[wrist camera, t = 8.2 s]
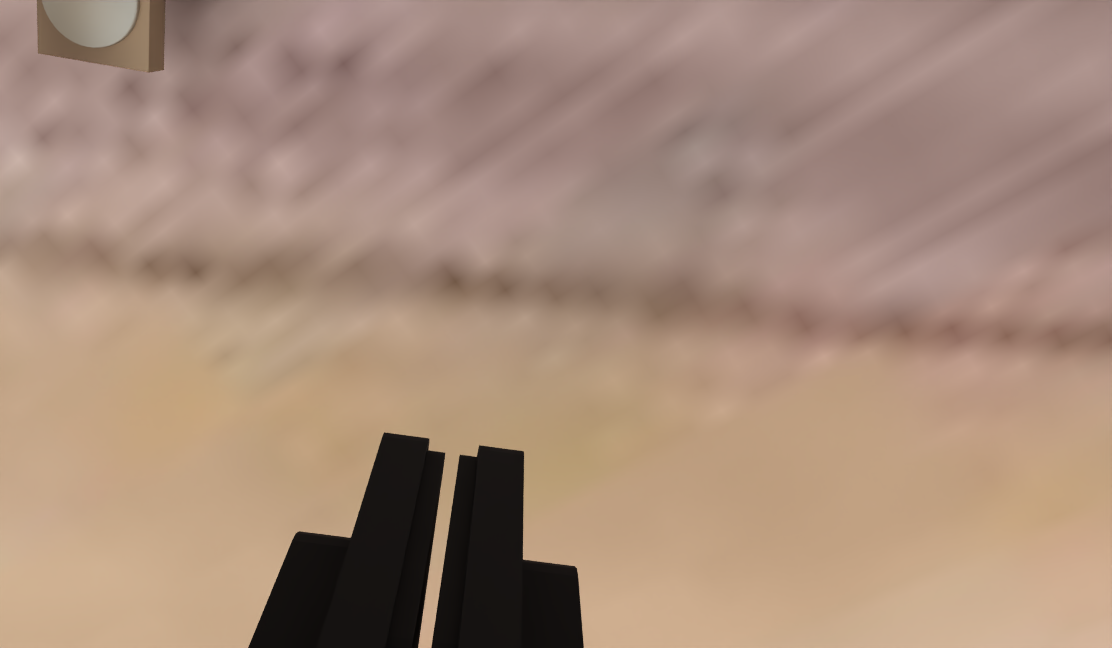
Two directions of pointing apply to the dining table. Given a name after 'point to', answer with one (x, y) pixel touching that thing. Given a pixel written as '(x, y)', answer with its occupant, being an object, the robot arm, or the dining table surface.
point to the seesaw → (104, 32)
